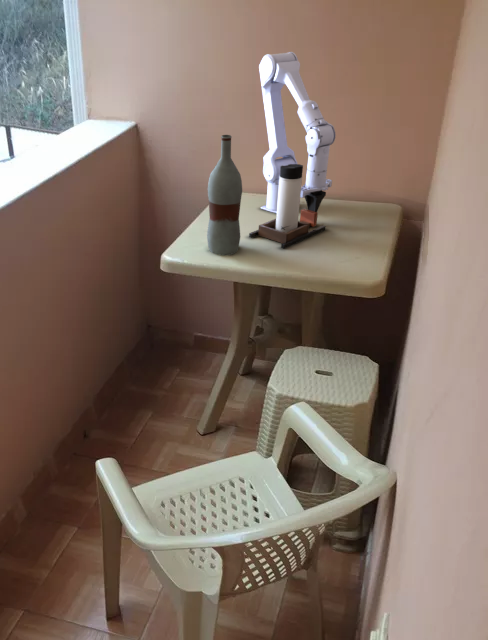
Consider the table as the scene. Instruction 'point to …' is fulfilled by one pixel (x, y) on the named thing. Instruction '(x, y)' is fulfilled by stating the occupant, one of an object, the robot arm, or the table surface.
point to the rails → (297, 239)
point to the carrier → (270, 231)
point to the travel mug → (289, 197)
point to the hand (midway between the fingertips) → (312, 215)
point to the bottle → (224, 203)
